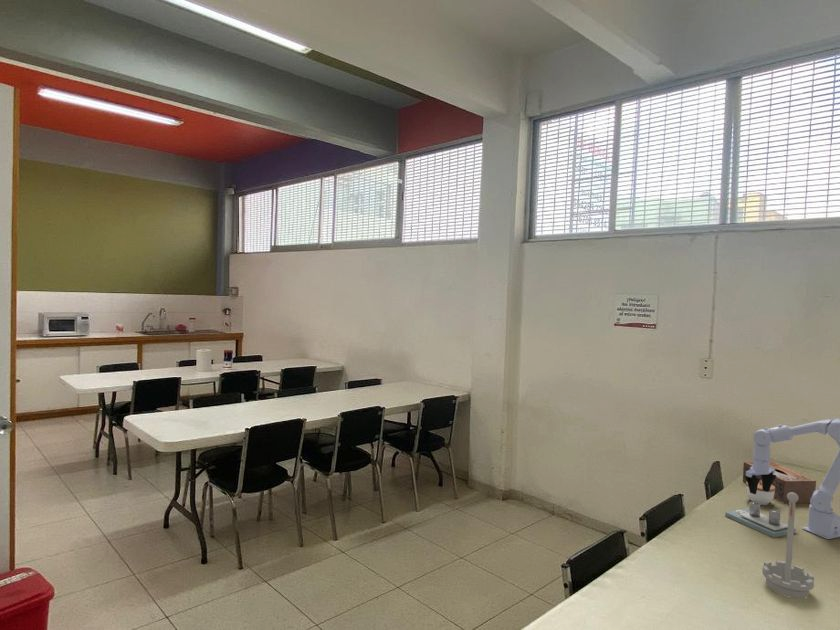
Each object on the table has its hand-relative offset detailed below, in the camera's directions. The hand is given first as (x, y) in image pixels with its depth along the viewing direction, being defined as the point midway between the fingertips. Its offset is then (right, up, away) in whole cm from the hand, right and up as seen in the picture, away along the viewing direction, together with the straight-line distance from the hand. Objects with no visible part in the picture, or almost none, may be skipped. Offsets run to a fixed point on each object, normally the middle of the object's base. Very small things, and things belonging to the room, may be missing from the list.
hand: (759, 492), depth 216 cm
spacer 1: (-5, -7, -5) cm, 11 cm away
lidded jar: (+10, -10, +15) cm, 21 cm away
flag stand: (-25, -12, -53) cm, 60 cm away
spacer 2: (-2, -8, -13) cm, 15 cm away
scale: (-5, -10, -7) cm, 13 cm away
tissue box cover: (+26, -10, +28) cm, 40 cm away
